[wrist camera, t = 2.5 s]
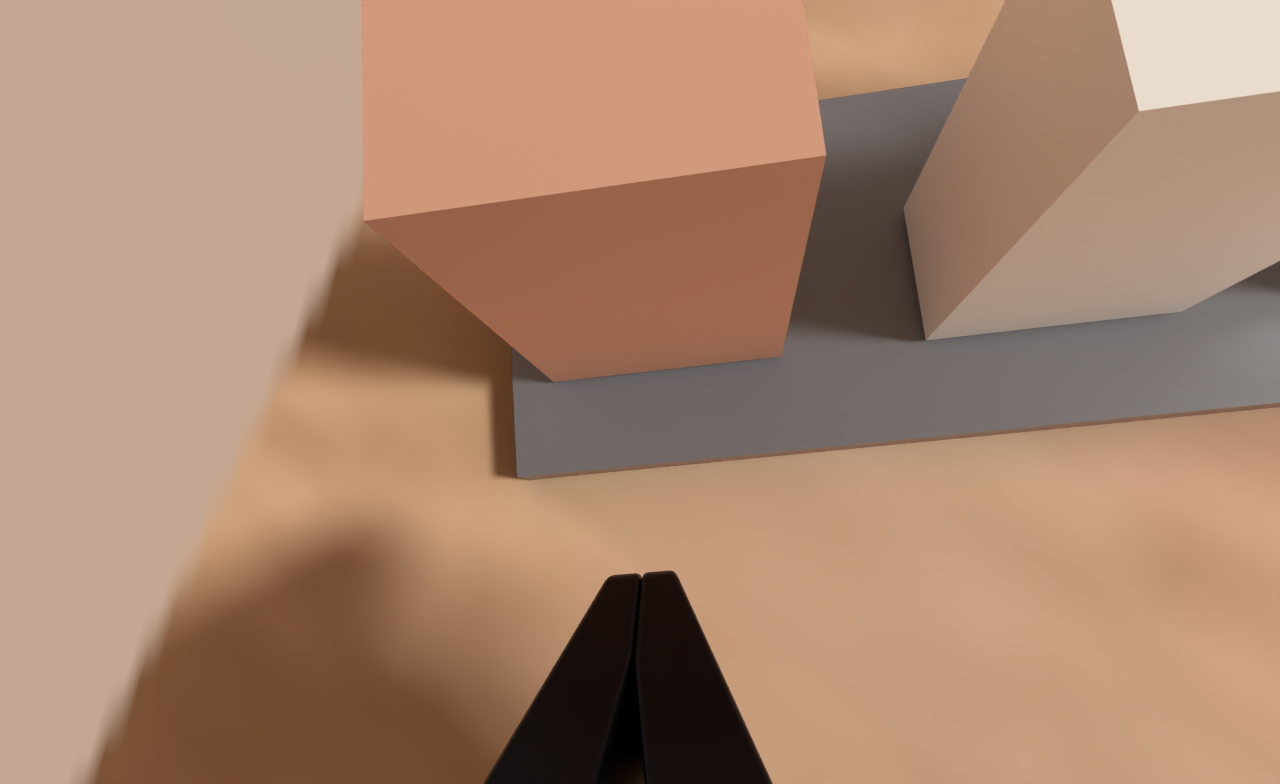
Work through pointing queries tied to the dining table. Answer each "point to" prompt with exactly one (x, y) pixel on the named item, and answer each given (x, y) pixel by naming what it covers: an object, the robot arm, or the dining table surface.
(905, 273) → the keyboard deck
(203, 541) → the dining table surface
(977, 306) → the middle key
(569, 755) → the robot arm
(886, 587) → the dining table surface
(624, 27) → the terracotta key
